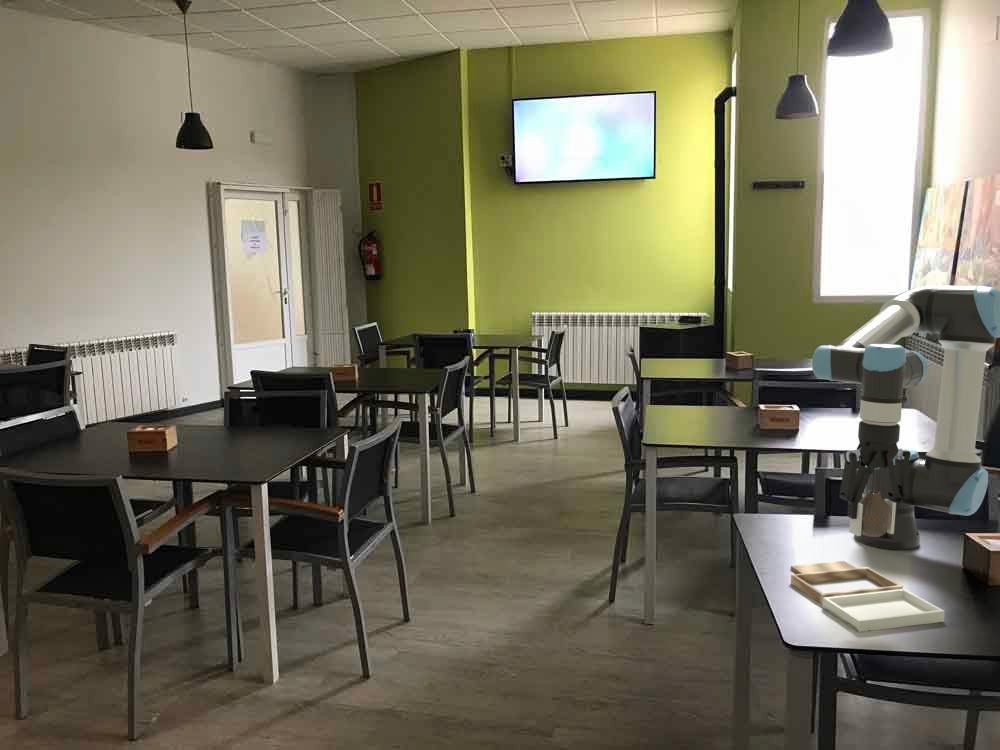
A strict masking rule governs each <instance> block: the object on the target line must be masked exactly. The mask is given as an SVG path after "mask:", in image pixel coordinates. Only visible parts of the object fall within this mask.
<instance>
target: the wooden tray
mask: <svg viewBox="0 0 1000 750" xmlns="http://www.w3.org/2000/svg"><path fill="white" fill-rule="evenodd" d="M859 578H868V579H870V580H871V581H873V582H874V583H876V584H879V587H869V588H862V589H861V588H860V589H853V590H852V589H851V590H843V591H835V592H833V591H832V592H826V593H825V592H824V593H823V591H820V590H819V589H818V588H816V587H815V586H813V585H811V584H812V583H820V582H821V583H822V582H830V581H839V580H849V579H859ZM790 584H791V585H792V586H794V587H796V588H797V589H799V590H800V591H802V592H803V593H805V594H806V595H808V596H809V597H811V598H812V599H813V600H815V601H816V602H819V604H821V605H823V598H825V597H834V596H843V595H852V594H861V593H870V592H879V591H888V590H897V589H904V585H903V586H902V585H901V584H899V583H897V582H896V581H894V580H892V579H890V578H888V577H886V576H885V575H883V574H881V573H880V572H877V571H875V570H874V569H872V568H870V567H868V566H864V567H856V568H852V569H842V570H833V571H823V572H813V573H803V574H797V573H795V574H791V575H790Z"/></svg>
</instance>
